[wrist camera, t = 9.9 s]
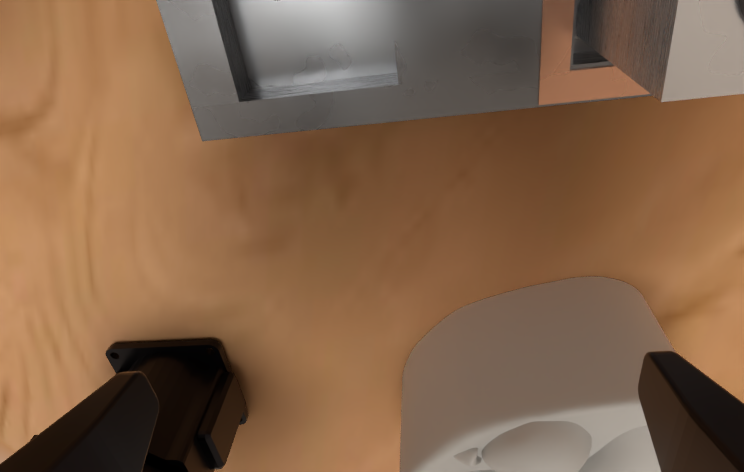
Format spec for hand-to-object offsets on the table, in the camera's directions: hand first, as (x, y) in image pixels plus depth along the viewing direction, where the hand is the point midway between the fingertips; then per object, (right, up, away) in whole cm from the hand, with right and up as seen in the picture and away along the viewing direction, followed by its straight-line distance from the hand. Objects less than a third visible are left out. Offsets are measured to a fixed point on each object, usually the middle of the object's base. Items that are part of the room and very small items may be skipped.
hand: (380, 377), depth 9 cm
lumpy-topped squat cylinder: (+8, -4, +18) cm, 20 cm away
